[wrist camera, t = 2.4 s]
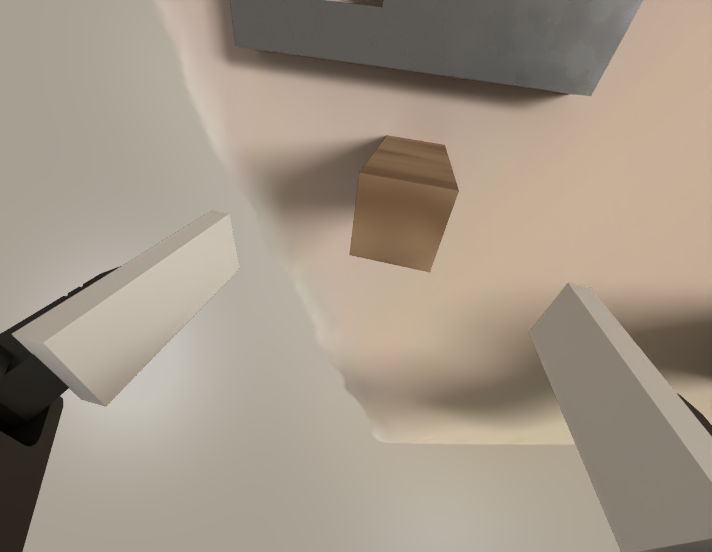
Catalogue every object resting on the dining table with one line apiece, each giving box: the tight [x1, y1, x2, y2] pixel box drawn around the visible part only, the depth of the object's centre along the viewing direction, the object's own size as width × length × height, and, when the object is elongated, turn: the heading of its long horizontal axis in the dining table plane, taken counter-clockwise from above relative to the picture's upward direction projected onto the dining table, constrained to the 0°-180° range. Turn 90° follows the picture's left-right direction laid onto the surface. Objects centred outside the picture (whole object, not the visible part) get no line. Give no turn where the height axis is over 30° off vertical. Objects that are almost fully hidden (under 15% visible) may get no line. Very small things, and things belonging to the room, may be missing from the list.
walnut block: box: [350, 136, 459, 272], centre depth 19 cm, size 5×5×12 cm
